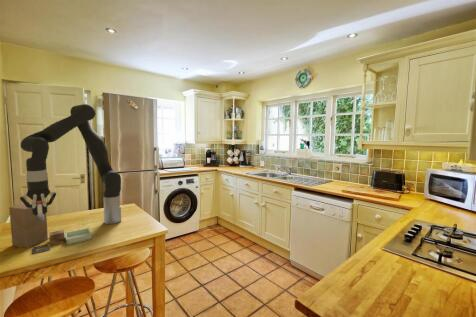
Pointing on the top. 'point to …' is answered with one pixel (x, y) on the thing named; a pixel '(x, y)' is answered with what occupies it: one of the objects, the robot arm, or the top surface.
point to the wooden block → (26, 227)
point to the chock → (56, 237)
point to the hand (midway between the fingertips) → (40, 214)
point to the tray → (78, 236)
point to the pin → (39, 210)
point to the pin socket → (41, 249)
